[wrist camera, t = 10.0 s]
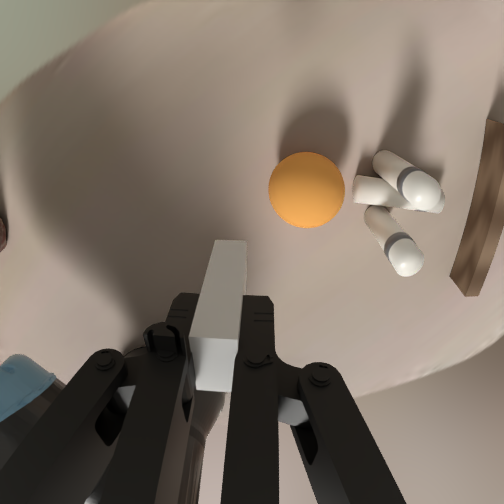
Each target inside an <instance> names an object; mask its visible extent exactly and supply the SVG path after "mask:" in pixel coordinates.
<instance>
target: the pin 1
mask: <svg viewBox="0 0 504 504" xmlns="http://www.w3.org/2000/svg"><path fill="white" fill-rule="evenodd" d="M372 166H373V169H374V171H375V172H376V173H377V174H378V175H380V176H381V177H382V178H383V179H384V180H385V181H387V182H388V183H389V184H390V185H391V186H392V187H393V188H395V189H396V190H397V191H398V192H399V193H400V195H401V196H403V197H404V198H405V199H406V200H407V201H408V202H410V203H411V204H412V205H413V206H414V207H415V208H417V209H418V210H421V211H427V210H430V209H432V208H433V207H434V206H435V205H436V204H437V203H438V201H439V199H440V195H441V188H440V185H439V183H438V182H437V181H436V180H435V179H434V178H432V177H431V176H429V175H428V174H427V173H426V172H424V171H423V170H421V169H420V168H418V167H415V166H413V165H412V164H410V163H409V162H407V161H405V160H404V159H402V158H400V157H399V156H397V155H395V154H394V153H392V152H390V151H388V150H382V151H379V152H378V153H376V155H375V156H374V158H373V161H372Z"/></svg>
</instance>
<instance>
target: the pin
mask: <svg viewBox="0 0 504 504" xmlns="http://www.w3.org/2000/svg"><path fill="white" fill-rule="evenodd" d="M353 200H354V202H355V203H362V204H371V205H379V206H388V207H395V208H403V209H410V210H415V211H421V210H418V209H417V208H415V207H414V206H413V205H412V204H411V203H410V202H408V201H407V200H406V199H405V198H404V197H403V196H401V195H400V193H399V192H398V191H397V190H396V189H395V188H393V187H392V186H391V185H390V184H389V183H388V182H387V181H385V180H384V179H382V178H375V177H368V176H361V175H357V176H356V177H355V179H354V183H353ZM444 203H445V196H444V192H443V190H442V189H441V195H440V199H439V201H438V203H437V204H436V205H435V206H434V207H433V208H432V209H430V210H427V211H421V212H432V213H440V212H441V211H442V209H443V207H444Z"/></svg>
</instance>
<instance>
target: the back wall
mask: <svg viewBox="0 0 504 504" xmlns="http://www.w3.org/2000/svg"><path fill="white" fill-rule="evenodd" d="M503 226H504V124H502V123H499V122H496V121H492V120H489V119H487V120H486V128H485V136H484V142H483V149H482V155H481V160H480V166H479V171H478V176H477V181H476V185H475V190H474V194H473V199H472V203H471V207H470V211H469V215H468V219H467V222H466V226H465V229H464V233H463V236H462V240H461V243H460V246H459V250H458V253H457V256H456V259H455V262H454V265H453V268H452V271H451V274H450V277H451V279H452V280H453V281H454V283H455V284H456V285H457V286H458V288H459V289H460V290H461V292H462V293H463V294H464V296H465V297H468V296H478V295H479V293H480V291H481V288H482V286H483V283H484V281H485V278H486V276H487V273H488V270H489V268H490V265H491V262H492V260H493V257H494V254H495V251H496V248H497V245H498V242H499V239H500V236H501V233H502V229H503Z"/></svg>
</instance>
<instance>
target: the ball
mask: <svg viewBox="0 0 504 504" xmlns="http://www.w3.org/2000/svg"><path fill="white" fill-rule="evenodd" d="M344 195H345V186H344V181H343V178H342V175H341V173H340V171H339V170H338V168H337V167H336V166H335V164H334V163H333V162H332V161H330V160H329V159H328V158H326V157H324V156H322V155H320V154H317V153H312V152H300V153H295V154H292V155H290V156H288V157H286V158H285V159H283V160H282V161H281V162H280V163H279V164H278V165H277V166H276V168H275V169H274V171H273V172H272V175H271V177H270V181H269V198H270V202H271V204H272V206H273V208H274V210H275V211H276V213H277V214H278V215H279V216H280V217H281V218H282V219H283V220H285V221H286V222H288V223H289V224H291V225H294V226H297V227H301V228H313V227H318V226H321V225H323V224H325V223H327V222H328V221H330V220H331V219H332V218H333V217H334V216H335V215H336V214H337V213H338V211H339V210H340V208H341V206H342V204H343V200H344Z"/></svg>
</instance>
